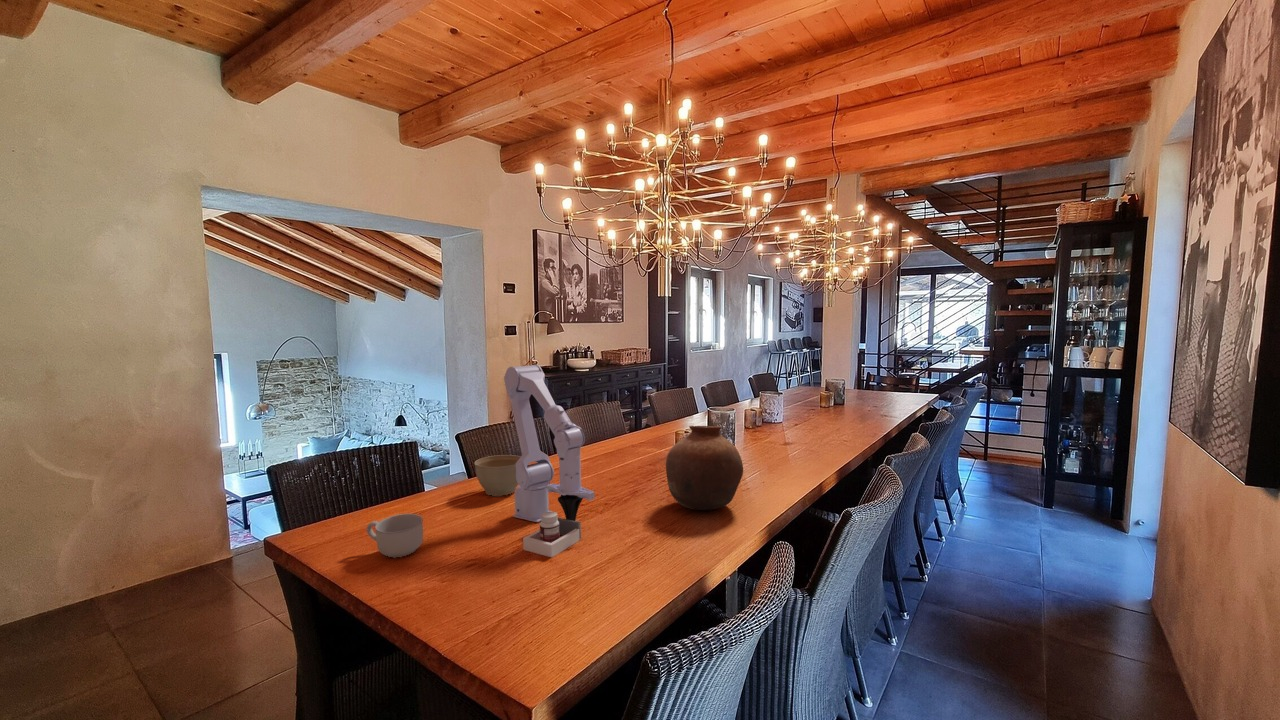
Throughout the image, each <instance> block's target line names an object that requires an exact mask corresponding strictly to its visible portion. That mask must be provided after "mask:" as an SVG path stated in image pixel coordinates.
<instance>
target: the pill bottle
mask: <svg viewBox="0 0 1280 720" xmlns="http://www.w3.org/2000/svg"><path fill="white" fill-rule="evenodd" d="M557 518H559V517H558V512H555V511H553V512H545V513H543V514H542V515H541V521H540V522H539V530H540V540H541V541H545V542H549V543H552V542H554V541H555V540H557V539H559V538H560V534H559V521H558V520H557Z"/></svg>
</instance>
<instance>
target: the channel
mask: <svg viewBox="0 0 1280 720" xmlns="http://www.w3.org/2000/svg"><path fill="white" fill-rule="evenodd" d="M522 541H523V543H522V544H523V550H524V551H527V552H531V553H534V554H537V555H541V556H545V557H549V558H554V557H555V556H557V555H558V554H560V553H562V552H563V551H565V550H567V549H568V548H570V547H572V546H573V545H574V544H575V545H576V543H578V542H579V541H580V539H579V529H575V530H573V531H571V532H569V533H568V534H566V535H562V536H560V537H559V539H557V540H555V541H554V542H552V543H549V542H545V541H541V540H540V529H538V530H536V531H534V532H532V533H530V534H528V535H526V536H524V537H523V538H522Z"/></svg>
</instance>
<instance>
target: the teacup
mask: <svg viewBox="0 0 1280 720" xmlns="http://www.w3.org/2000/svg"><path fill="white" fill-rule="evenodd" d="M423 521H424V519H423V516H421V515H419V514H416V513H401V514H400V513H399V514H395V515H392V516H389V517H385V518H384V519H382V520H379V521H377V520H373V521H370V522H369V523H368V524H367V526H366V533H367V535H368V537H370V539H372V540H374V541H376V546H377V549H378V551H379V552H380V554H382V555H384V556H386V557H387V556H388V557H387V558H390V557H393V558H392V559H397V558H396V557H400V558H403V557H402V556H405V557H407V556H406V555H408V556H409V554H410V555H412V554H413V553H415V552H416V551H417V549H418V548H420V547H421V545H422V543H423V541H424V527H423V526H424V525H423ZM373 527H374V531H375V532H374V531H373ZM411 553H412V554H411Z"/></svg>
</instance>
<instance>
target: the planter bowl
mask: <svg viewBox="0 0 1280 720" xmlns="http://www.w3.org/2000/svg"><path fill="white" fill-rule="evenodd" d="M520 457H521V456H519V455H515V454H514V455H512V454H500V455H499V454H497V455H489V456H485V457H481V458H479V459H477V460H475V461H474V468H475V474H476V478H477V480H478V483H479V485H480V486H481V488H482V489H483V490H484V491H485V495H487V494H488V495H487V496H489V495H492V496H491V497H503V496H502V495H506V496H509V495H508V494H510V495H512V494H514V493H515V491H516V489H517V487H518V486H519V484H518V483H517V480H516V465H515V464H516V462H517V461H518V460H519V459H520ZM513 492H514V493H513ZM511 493H512V494H511Z"/></svg>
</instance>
